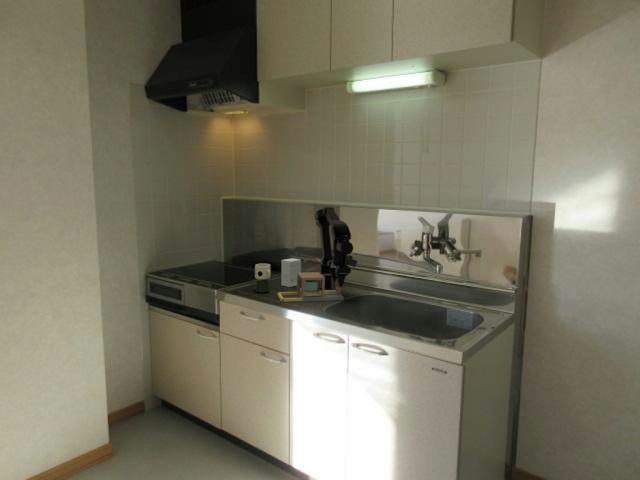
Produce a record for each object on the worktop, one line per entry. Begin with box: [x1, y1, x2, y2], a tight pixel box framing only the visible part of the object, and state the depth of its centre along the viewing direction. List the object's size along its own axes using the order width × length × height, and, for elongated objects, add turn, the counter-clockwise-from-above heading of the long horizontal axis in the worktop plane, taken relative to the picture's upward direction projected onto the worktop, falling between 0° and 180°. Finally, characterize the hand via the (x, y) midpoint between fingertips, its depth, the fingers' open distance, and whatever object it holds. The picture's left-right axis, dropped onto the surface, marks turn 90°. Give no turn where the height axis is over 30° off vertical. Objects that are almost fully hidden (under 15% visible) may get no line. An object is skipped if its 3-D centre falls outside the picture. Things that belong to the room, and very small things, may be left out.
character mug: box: [254, 263, 272, 294], centre depth 217 cm, size 11×7×13 cm, turn 47°
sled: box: [300, 279, 342, 296], centre depth 210 cm, size 8×18×6 cm, turn 104°
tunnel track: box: [277, 271, 345, 303], centre depth 209 cm, size 12×28×10 cm, turn 104°
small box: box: [280, 258, 302, 288], centre depth 233 cm, size 8×6×13 cm
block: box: [305, 280, 317, 291], centre depth 209 cm, size 5×5×5 cm
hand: (338, 284), depth 212 cm, fingers open, 9 cm apart
